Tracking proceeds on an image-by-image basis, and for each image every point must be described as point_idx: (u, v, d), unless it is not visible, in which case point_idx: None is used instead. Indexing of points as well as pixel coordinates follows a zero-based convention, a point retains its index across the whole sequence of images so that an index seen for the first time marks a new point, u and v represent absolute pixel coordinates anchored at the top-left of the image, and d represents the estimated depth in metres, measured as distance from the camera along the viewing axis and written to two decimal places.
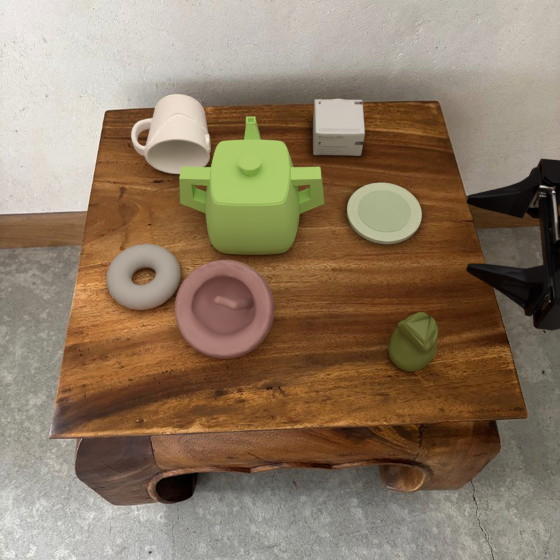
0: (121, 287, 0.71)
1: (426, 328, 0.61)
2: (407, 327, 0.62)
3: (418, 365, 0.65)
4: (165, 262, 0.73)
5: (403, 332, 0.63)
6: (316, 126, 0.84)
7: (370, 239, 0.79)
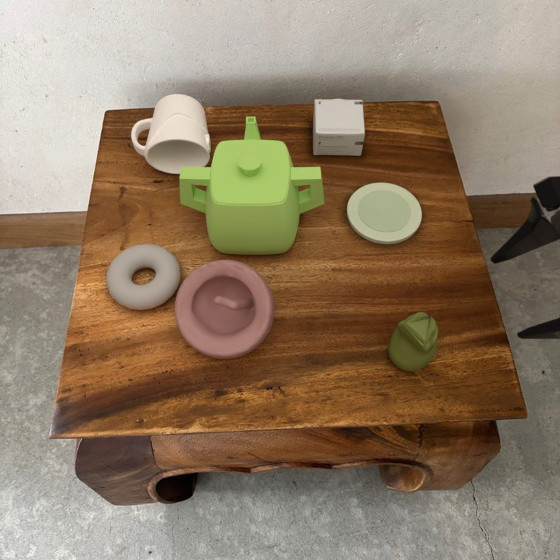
0: (121, 287, 0.71)
1: (426, 328, 0.61)
2: (407, 327, 0.62)
3: (418, 365, 0.65)
4: (165, 262, 0.73)
5: (403, 332, 0.63)
6: (316, 126, 0.84)
7: (370, 239, 0.79)
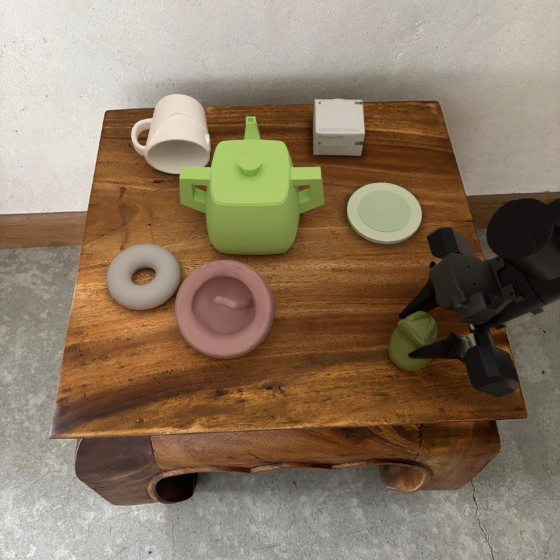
0: (121, 287, 0.71)
1: (425, 327, 0.61)
2: (406, 326, 0.62)
3: (418, 365, 0.65)
4: (165, 262, 0.73)
5: (403, 331, 0.63)
6: (316, 126, 0.84)
7: (370, 239, 0.79)
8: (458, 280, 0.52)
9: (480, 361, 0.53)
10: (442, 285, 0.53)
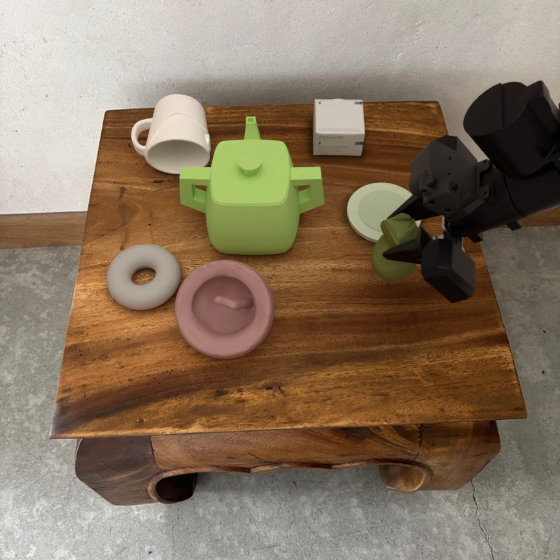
0: (121, 287, 0.71)
1: (405, 229, 0.61)
2: (387, 224, 0.62)
3: (394, 272, 0.65)
4: (165, 262, 0.73)
5: (384, 231, 0.63)
6: (316, 126, 0.84)
7: (370, 239, 0.79)
8: (431, 164, 0.51)
9: (436, 253, 0.52)
10: (417, 169, 0.53)
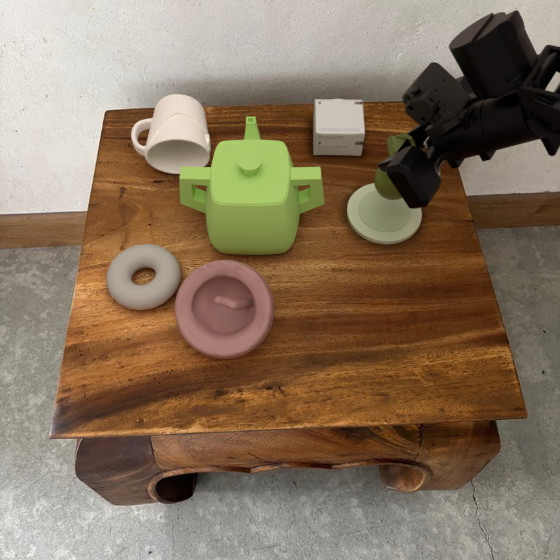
0: (121, 287, 0.71)
1: None
2: (390, 139, 0.70)
3: (387, 187, 0.73)
4: (165, 262, 0.73)
5: (387, 147, 0.71)
6: (316, 126, 0.84)
7: (370, 239, 0.79)
8: (423, 77, 0.59)
9: (404, 155, 0.60)
10: (413, 82, 0.61)
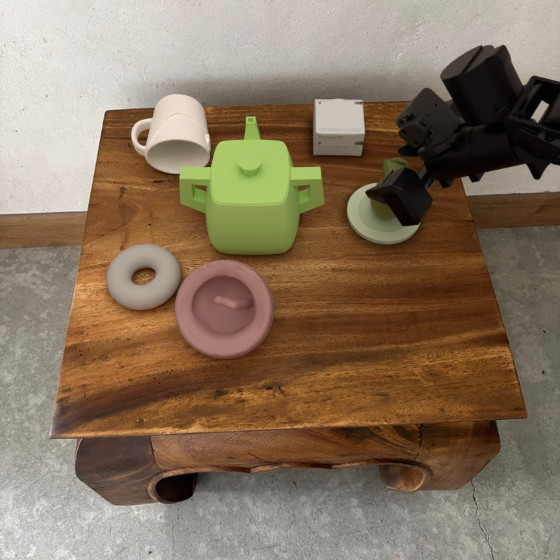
0: (121, 287, 0.71)
1: None
2: (385, 162, 0.73)
3: (382, 207, 0.76)
4: (165, 262, 0.73)
5: (382, 169, 0.75)
6: (316, 126, 0.84)
7: (370, 239, 0.79)
8: (416, 103, 0.62)
9: (397, 176, 0.63)
10: (406, 106, 0.64)
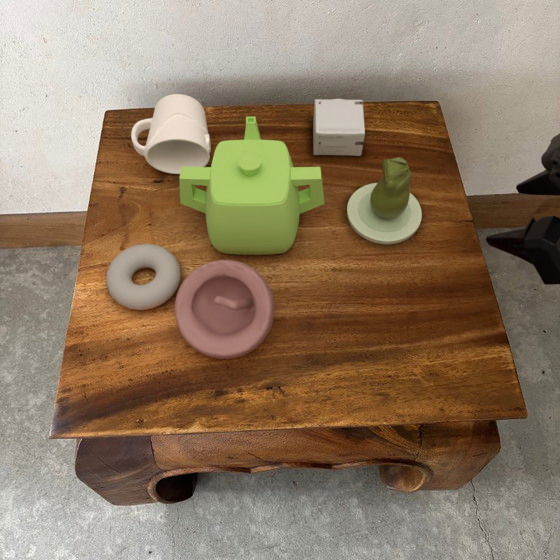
0: (121, 287, 0.71)
1: (397, 170, 0.72)
2: (385, 162, 0.73)
3: (382, 207, 0.76)
4: (165, 262, 0.73)
5: (382, 169, 0.75)
6: (316, 126, 0.84)
7: (370, 239, 0.79)
8: None
9: (546, 227, 0.53)
10: (555, 143, 0.53)
